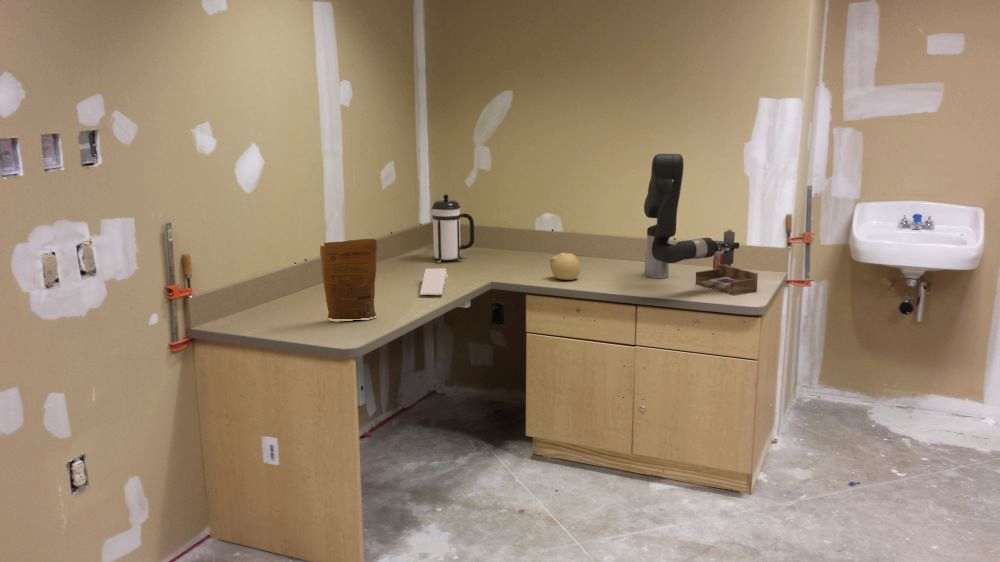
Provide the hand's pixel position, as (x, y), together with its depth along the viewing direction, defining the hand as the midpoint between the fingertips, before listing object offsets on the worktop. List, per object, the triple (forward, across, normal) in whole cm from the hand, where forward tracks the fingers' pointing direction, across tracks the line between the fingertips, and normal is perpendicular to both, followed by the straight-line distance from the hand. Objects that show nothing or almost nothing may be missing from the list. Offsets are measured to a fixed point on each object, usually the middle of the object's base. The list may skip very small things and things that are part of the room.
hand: (734, 244), depth 342 cm
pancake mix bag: (-145, +28, +18) cm, 148 cm away
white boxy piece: (-101, +56, +18) cm, 117 cm away
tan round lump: (-48, +45, +17) cm, 68 cm away
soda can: (+9, +16, +17) cm, 25 cm away
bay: (-3, 0, +17) cm, 17 cm away
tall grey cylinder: (-3, 0, +7) cm, 8 cm away
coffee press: (-72, +104, +17) cm, 128 cm away
